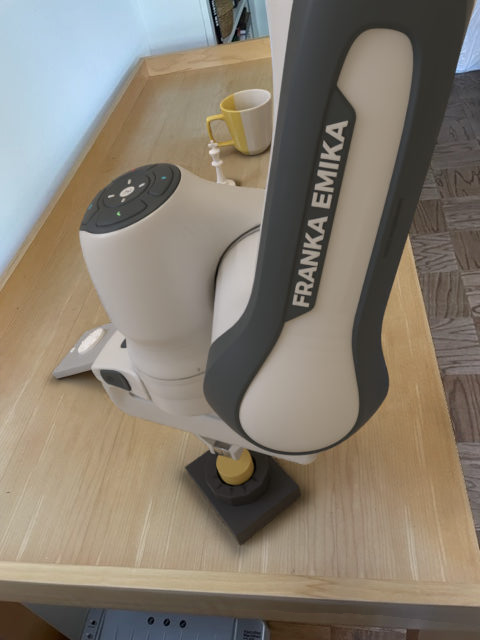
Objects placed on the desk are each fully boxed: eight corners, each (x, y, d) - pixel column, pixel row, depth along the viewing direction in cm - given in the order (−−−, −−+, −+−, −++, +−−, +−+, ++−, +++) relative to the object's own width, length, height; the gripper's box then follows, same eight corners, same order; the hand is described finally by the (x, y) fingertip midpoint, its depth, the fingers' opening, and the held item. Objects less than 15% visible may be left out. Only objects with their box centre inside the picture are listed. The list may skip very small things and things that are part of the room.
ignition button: (260, 470, 55) (258, 461, 53) (232, 492, 54) (228, 483, 52) (241, 447, 57) (237, 438, 56) (213, 468, 56) (209, 459, 55)
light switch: (81, 326, 79) (135, 305, 69) (108, 353, 82) (165, 336, 72) (45, 369, 74) (98, 354, 64) (76, 396, 77) (132, 385, 67)
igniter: (301, 496, 56) (296, 477, 53) (240, 545, 53) (231, 528, 50) (246, 435, 62) (239, 415, 60) (189, 477, 60) (179, 458, 57)
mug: (279, 133, 115) (271, 84, 107) (278, 156, 107) (270, 106, 100) (217, 143, 117) (206, 96, 110) (212, 166, 110) (199, 117, 103)
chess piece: (213, 183, 105) (200, 136, 98) (237, 180, 104) (226, 132, 97) (209, 197, 102) (196, 149, 95) (235, 194, 101) (223, 145, 94)
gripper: (328, 355, 41) (339, 451, 50) (114, 314, 49) (158, 403, 59) (301, 421, 37) (319, 512, 47) (74, 365, 46) (128, 451, 55)
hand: (228, 451), depth 53 cm, fingers closed
